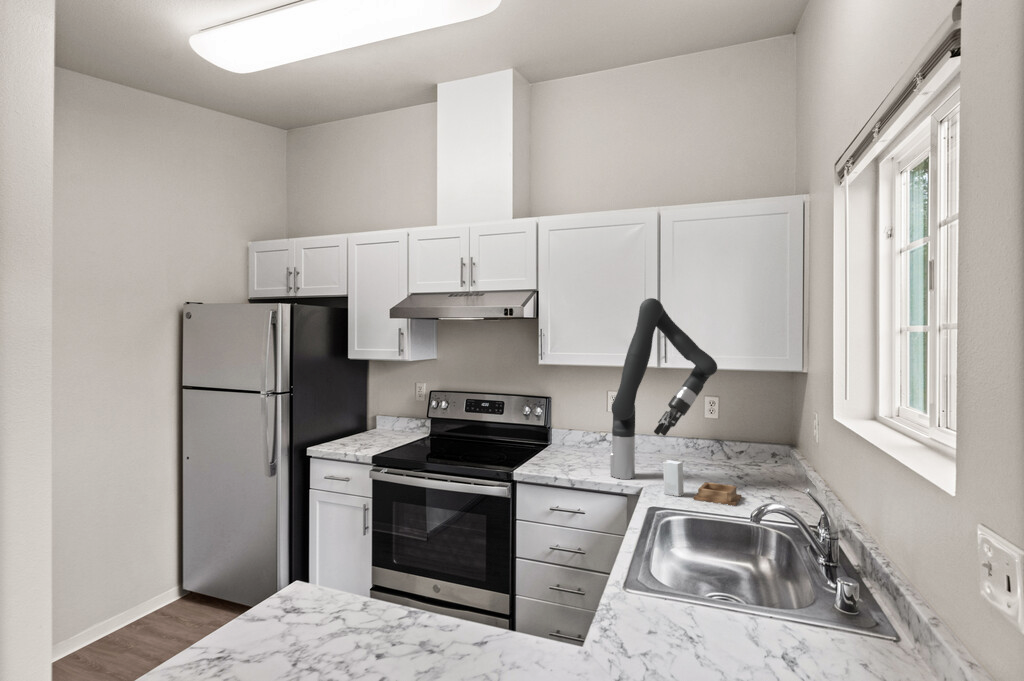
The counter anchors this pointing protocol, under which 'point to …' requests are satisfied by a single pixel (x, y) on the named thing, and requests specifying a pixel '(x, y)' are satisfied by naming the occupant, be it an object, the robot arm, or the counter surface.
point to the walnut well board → (718, 494)
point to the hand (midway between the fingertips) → (659, 433)
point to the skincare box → (673, 478)
